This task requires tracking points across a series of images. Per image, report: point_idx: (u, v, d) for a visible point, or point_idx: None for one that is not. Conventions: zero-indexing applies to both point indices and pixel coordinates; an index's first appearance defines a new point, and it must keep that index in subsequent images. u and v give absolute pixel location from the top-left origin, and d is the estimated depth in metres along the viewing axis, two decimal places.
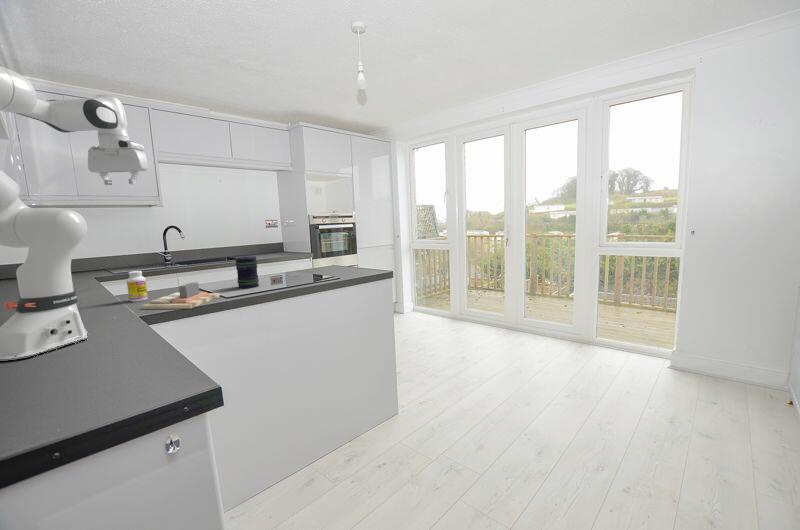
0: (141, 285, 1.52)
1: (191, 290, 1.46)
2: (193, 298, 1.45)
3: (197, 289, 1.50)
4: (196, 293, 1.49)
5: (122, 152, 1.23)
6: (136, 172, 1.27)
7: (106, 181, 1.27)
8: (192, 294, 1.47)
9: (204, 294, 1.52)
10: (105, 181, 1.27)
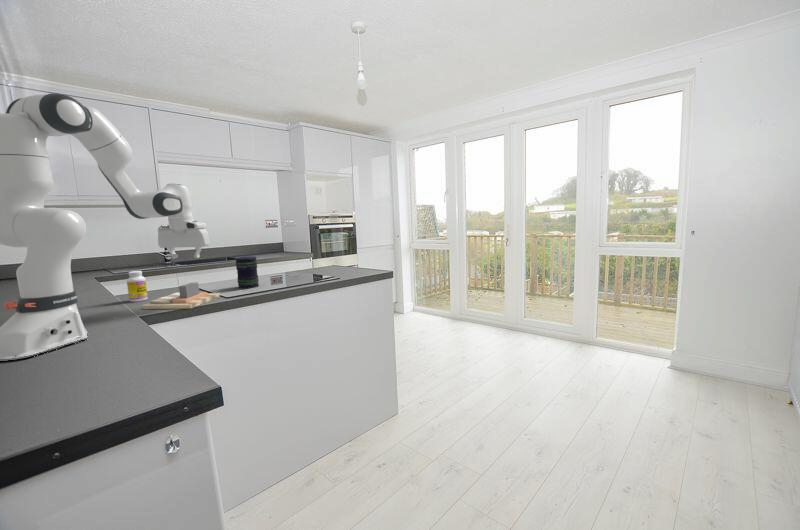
0: (141, 285, 1.52)
1: (191, 290, 1.46)
2: (193, 298, 1.45)
3: (197, 289, 1.50)
4: (196, 293, 1.49)
5: (189, 231, 1.41)
6: (200, 247, 1.45)
7: (173, 255, 1.45)
8: (192, 294, 1.47)
9: (204, 294, 1.52)
10: (173, 255, 1.45)
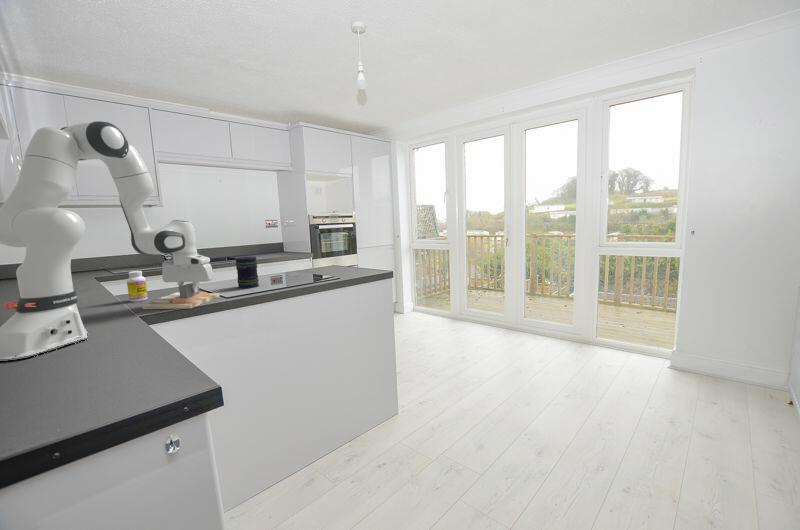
0: (141, 285, 1.52)
1: (191, 290, 1.46)
2: (193, 298, 1.45)
3: (197, 289, 1.50)
4: (196, 293, 1.49)
5: (193, 267, 1.43)
6: (198, 282, 1.47)
7: None
8: (192, 294, 1.47)
9: (204, 294, 1.52)
10: None
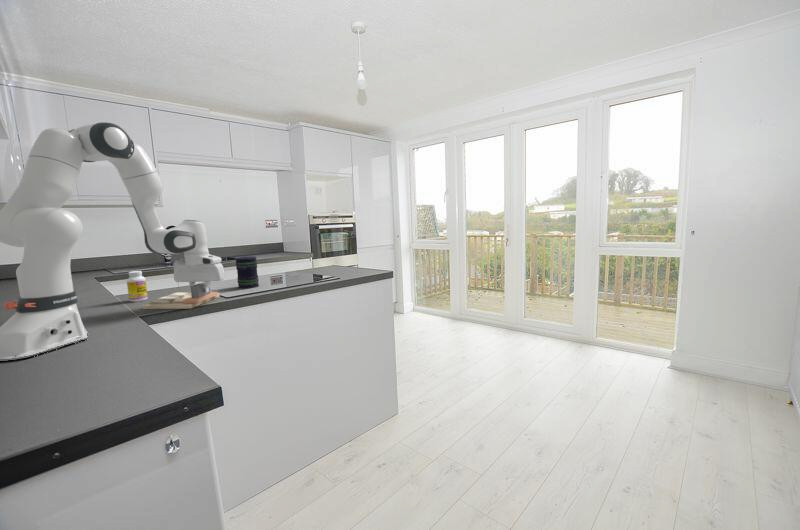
0: (141, 285, 1.52)
1: None
2: (204, 298, 1.45)
3: None
4: (207, 293, 1.49)
5: (204, 267, 1.43)
6: (209, 282, 1.46)
7: None
8: (203, 294, 1.47)
9: (215, 294, 1.52)
10: None
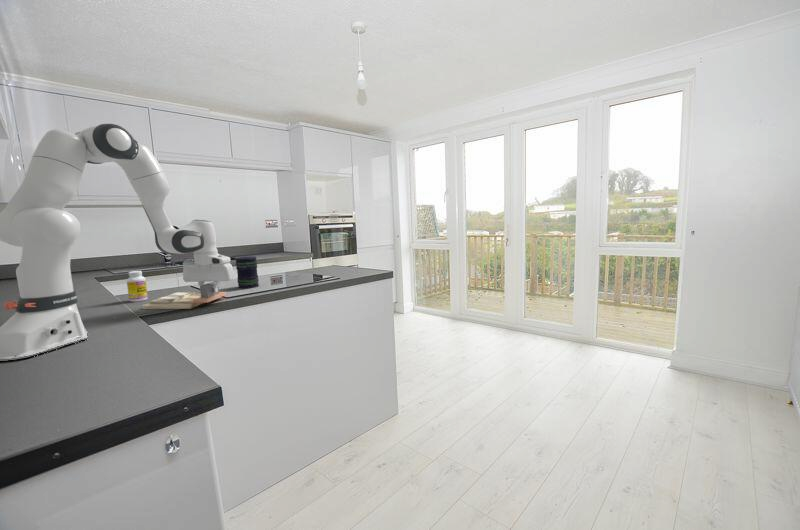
0: (141, 285, 1.52)
1: None
2: (214, 298, 1.45)
3: None
4: (216, 293, 1.49)
5: (214, 266, 1.43)
6: (218, 281, 1.46)
7: None
8: (212, 294, 1.46)
9: (224, 294, 1.52)
10: None
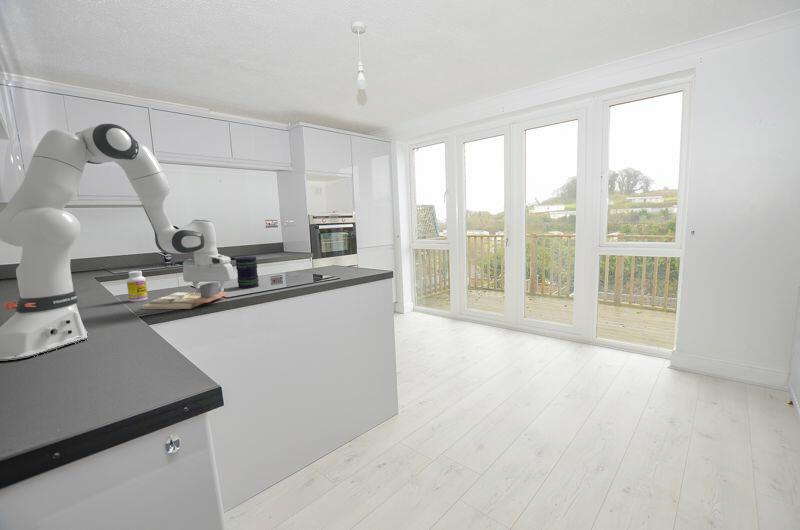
0: (141, 285, 1.52)
1: (212, 290, 1.46)
2: (214, 298, 1.45)
3: (217, 289, 1.50)
4: (216, 293, 1.49)
5: (214, 266, 1.42)
6: (224, 281, 1.46)
7: (198, 289, 1.46)
8: (213, 294, 1.46)
9: (224, 294, 1.52)
10: (197, 289, 1.46)
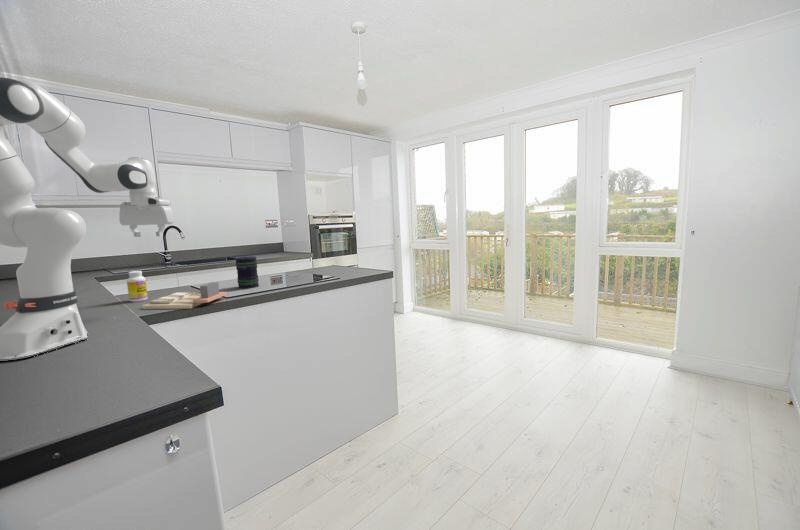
0: (141, 285, 1.52)
1: (212, 290, 1.46)
2: (214, 298, 1.45)
3: (217, 289, 1.50)
4: (216, 293, 1.49)
5: (150, 208, 1.35)
6: (163, 225, 1.38)
7: (135, 233, 1.38)
8: (213, 294, 1.46)
9: (224, 294, 1.52)
10: (134, 233, 1.38)
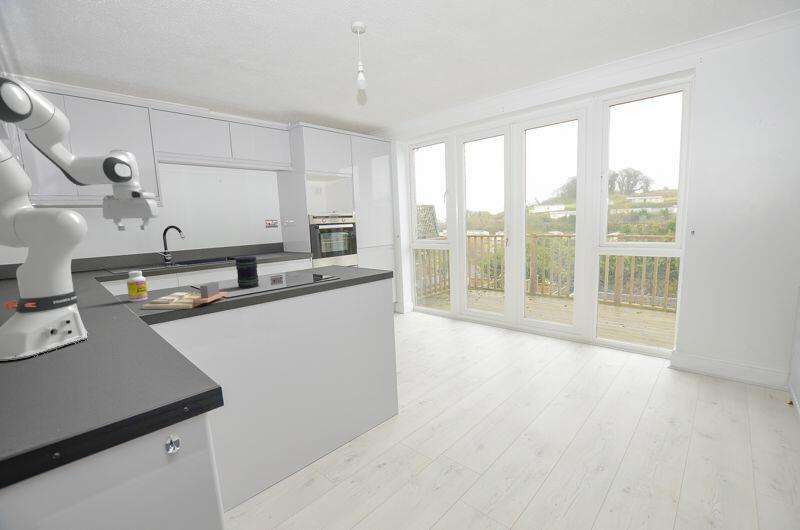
0: (141, 285, 1.52)
1: (212, 290, 1.46)
2: (214, 298, 1.45)
3: (217, 289, 1.50)
4: (216, 293, 1.49)
5: (134, 201, 1.33)
6: (147, 219, 1.37)
7: (119, 227, 1.37)
8: (213, 294, 1.46)
9: (224, 294, 1.52)
10: (119, 227, 1.37)
